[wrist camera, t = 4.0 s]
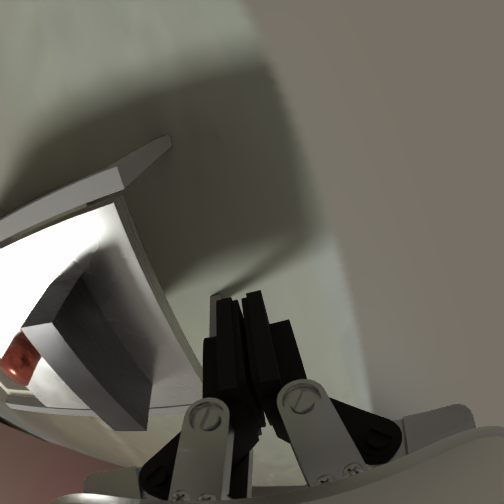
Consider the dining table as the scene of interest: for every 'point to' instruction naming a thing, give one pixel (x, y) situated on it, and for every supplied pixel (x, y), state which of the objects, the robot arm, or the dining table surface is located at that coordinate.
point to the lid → (92, 320)
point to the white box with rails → (68, 202)
